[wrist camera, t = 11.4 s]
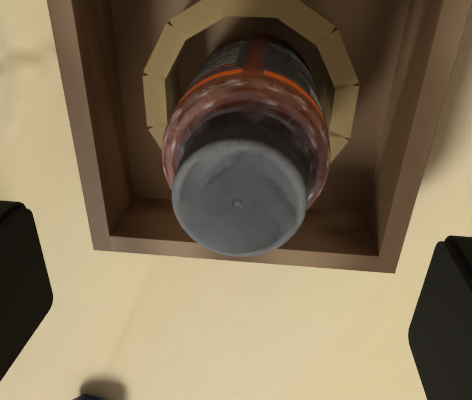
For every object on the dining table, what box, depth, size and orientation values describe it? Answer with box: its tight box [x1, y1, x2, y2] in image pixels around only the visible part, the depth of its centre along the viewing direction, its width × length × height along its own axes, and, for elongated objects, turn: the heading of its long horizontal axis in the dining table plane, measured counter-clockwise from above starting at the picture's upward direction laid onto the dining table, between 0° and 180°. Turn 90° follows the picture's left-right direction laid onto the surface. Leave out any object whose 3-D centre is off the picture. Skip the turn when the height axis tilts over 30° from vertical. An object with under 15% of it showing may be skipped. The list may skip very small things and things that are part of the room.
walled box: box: [47, 0, 472, 273], centre depth 20 cm, size 16×16×5 cm
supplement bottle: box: [162, 34, 331, 257], centre depth 17 cm, size 6×6×11 cm
